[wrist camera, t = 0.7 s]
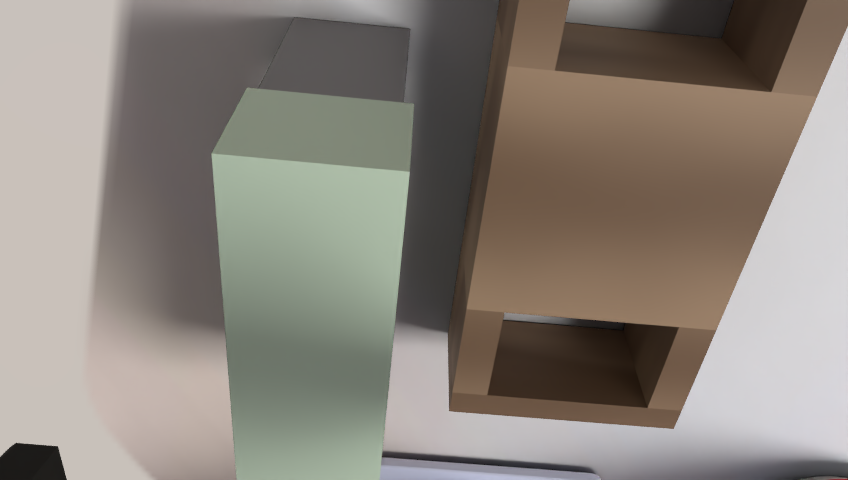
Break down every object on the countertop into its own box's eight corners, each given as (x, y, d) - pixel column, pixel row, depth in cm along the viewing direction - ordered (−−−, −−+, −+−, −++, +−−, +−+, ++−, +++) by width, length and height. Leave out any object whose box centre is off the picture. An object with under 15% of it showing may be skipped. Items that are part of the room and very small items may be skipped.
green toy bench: (388, 353, 22) (372, 550, 17) (289, 345, 22) (241, 541, 17) (419, 30, 17) (409, 171, 11) (285, 16, 16) (211, 153, 11)
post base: (647, 350, 22) (673, 428, 19) (447, 334, 22) (449, 411, 19) (823, -129, 15) (902, -101, 12) (524, -162, 14) (542, -140, 12)
